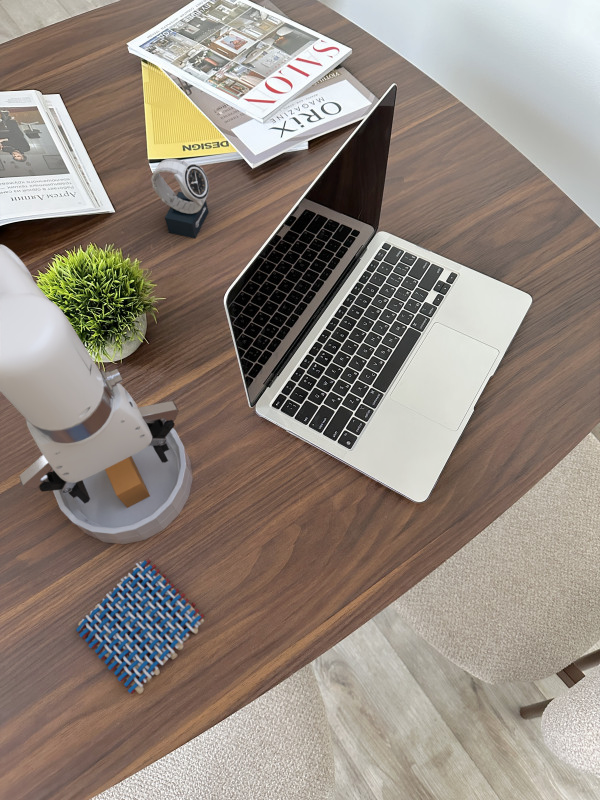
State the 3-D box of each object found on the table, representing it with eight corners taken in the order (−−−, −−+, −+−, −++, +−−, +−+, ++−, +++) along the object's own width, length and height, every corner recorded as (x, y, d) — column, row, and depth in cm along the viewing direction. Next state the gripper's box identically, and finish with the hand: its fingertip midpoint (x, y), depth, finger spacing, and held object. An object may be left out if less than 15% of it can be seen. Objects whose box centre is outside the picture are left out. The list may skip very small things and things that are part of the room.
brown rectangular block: (127, 508, 74) (116, 495, 71) (104, 456, 78) (92, 442, 74) (150, 496, 75) (141, 483, 71) (126, 445, 78) (116, 430, 74)
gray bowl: (94, 569, 72) (79, 558, 67) (51, 462, 78) (35, 446, 74) (213, 505, 75) (207, 491, 71) (162, 407, 81) (154, 388, 77)
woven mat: (211, 620, 69) (208, 617, 67) (137, 699, 65) (132, 698, 64) (148, 556, 72) (144, 552, 71) (75, 628, 69) (69, 625, 67)
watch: (207, 241, 94) (194, 184, 85) (158, 230, 96) (140, 173, 86) (220, 214, 97) (209, 156, 87) (172, 204, 98) (156, 146, 88)
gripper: (140, 333, 61) (177, 413, 76) (-34, 413, 57) (41, 480, 73) (172, 391, 58) (203, 462, 73) (-11, 480, 54) (62, 536, 69)
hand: (122, 471), depth 73 cm, fingers open, 9 cm apart
